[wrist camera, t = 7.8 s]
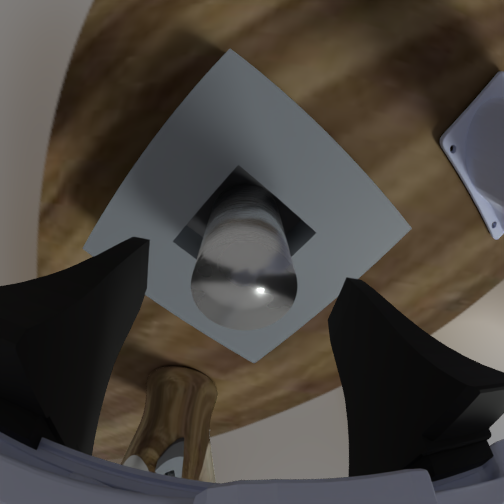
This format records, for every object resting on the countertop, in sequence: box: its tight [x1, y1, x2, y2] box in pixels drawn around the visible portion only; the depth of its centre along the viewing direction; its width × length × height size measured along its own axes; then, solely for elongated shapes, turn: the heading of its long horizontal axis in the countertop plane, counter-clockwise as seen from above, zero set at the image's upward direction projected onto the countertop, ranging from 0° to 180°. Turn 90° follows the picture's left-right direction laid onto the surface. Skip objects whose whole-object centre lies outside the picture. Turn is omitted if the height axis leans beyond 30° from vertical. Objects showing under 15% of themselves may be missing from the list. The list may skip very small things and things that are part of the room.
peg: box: [191, 184, 298, 330], centre depth 14 cm, size 4×4×7 cm
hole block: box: [83, 49, 412, 363], centre depth 16 cm, size 12×12×3 cm
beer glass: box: [121, 366, 218, 483], centre depth 18 cm, size 7×7×15 cm
